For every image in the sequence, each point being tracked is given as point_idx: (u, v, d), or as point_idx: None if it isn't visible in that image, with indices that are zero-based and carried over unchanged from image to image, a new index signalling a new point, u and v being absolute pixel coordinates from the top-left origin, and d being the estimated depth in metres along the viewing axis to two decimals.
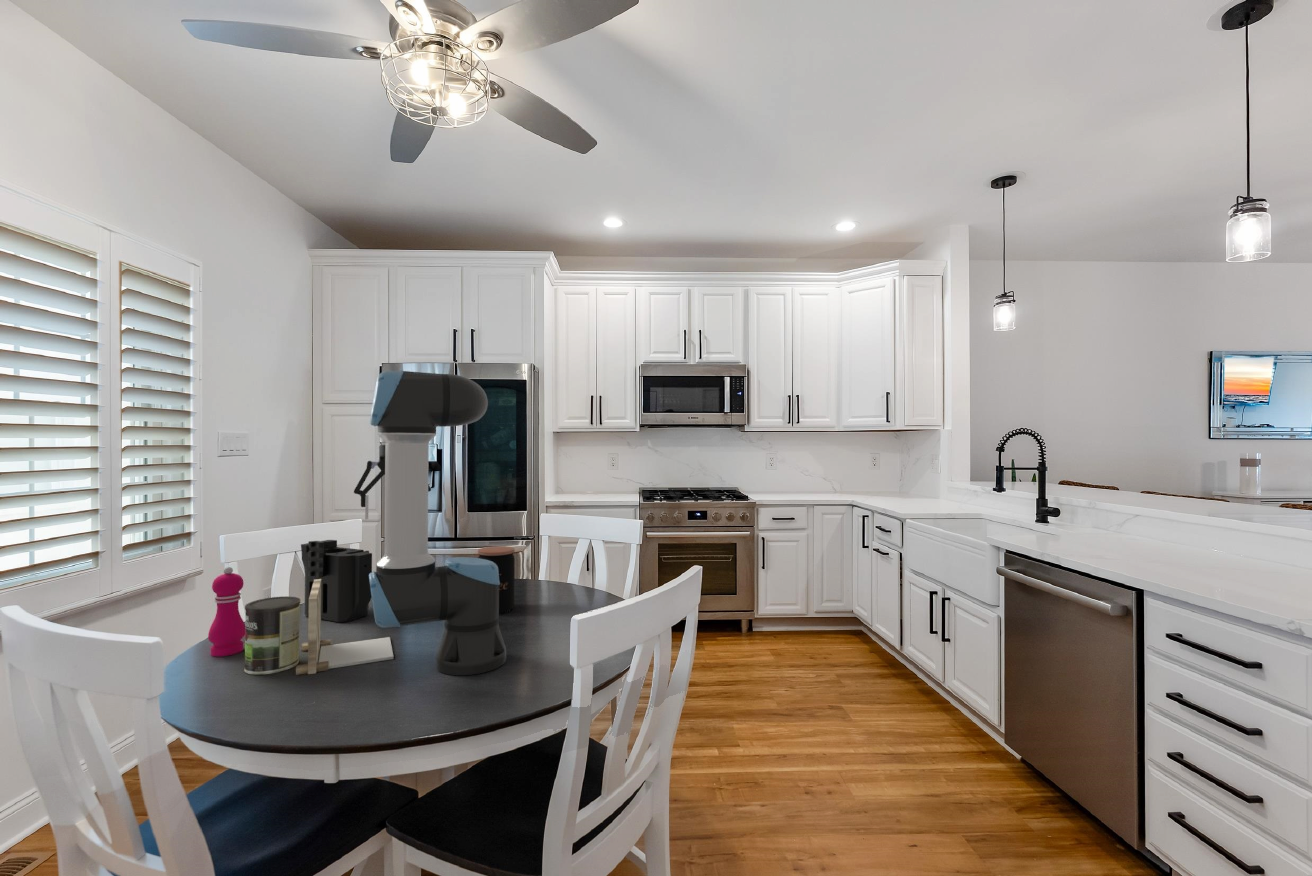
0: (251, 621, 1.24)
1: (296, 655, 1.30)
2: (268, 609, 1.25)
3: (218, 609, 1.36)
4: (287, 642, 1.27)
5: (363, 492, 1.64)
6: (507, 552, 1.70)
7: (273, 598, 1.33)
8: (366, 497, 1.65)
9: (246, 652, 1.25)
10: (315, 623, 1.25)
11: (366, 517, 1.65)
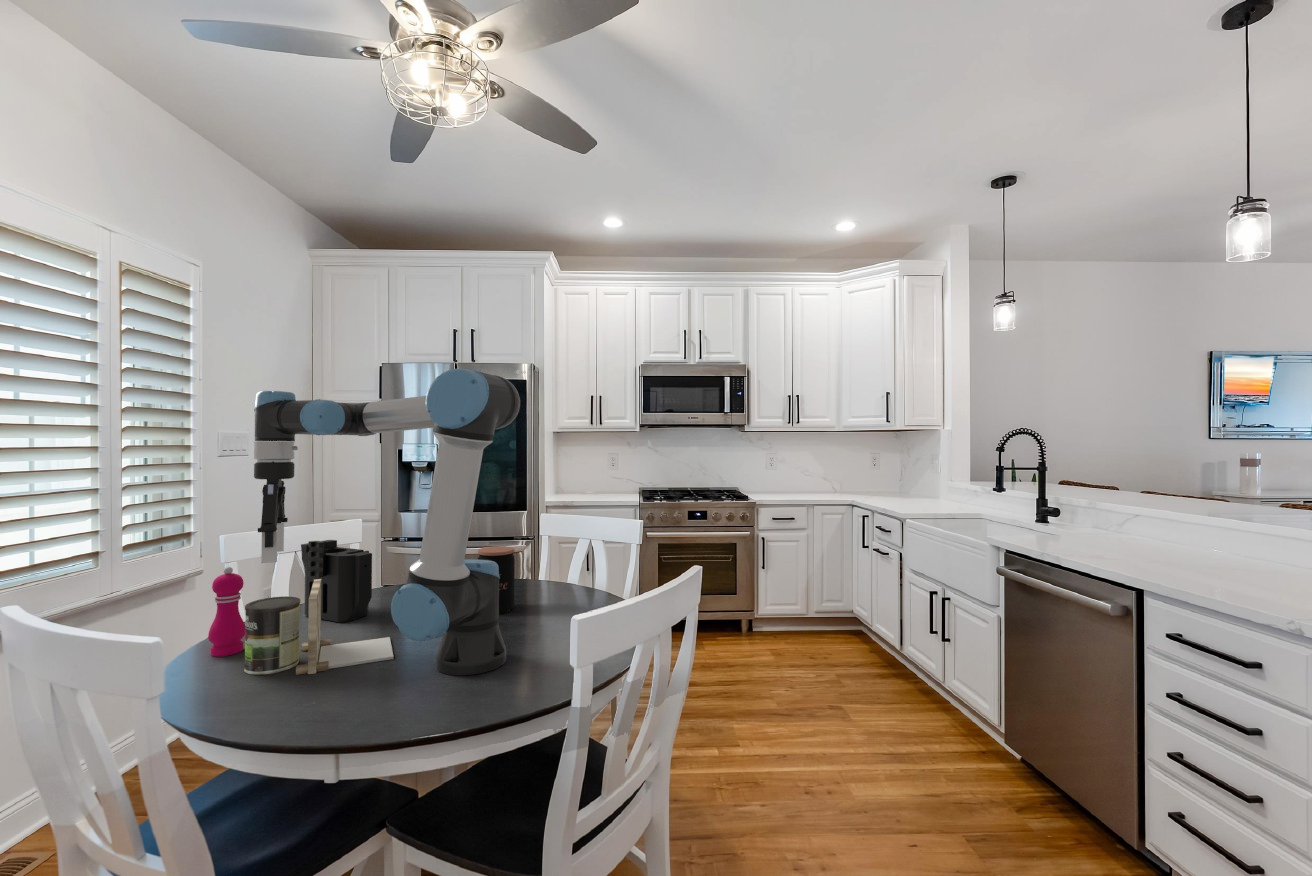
0: (251, 621, 1.24)
1: (296, 655, 1.30)
2: (268, 609, 1.25)
3: (218, 609, 1.36)
4: (287, 642, 1.27)
5: None
6: (507, 552, 1.70)
7: (273, 598, 1.33)
8: None
9: (246, 652, 1.25)
10: (315, 623, 1.25)
11: None
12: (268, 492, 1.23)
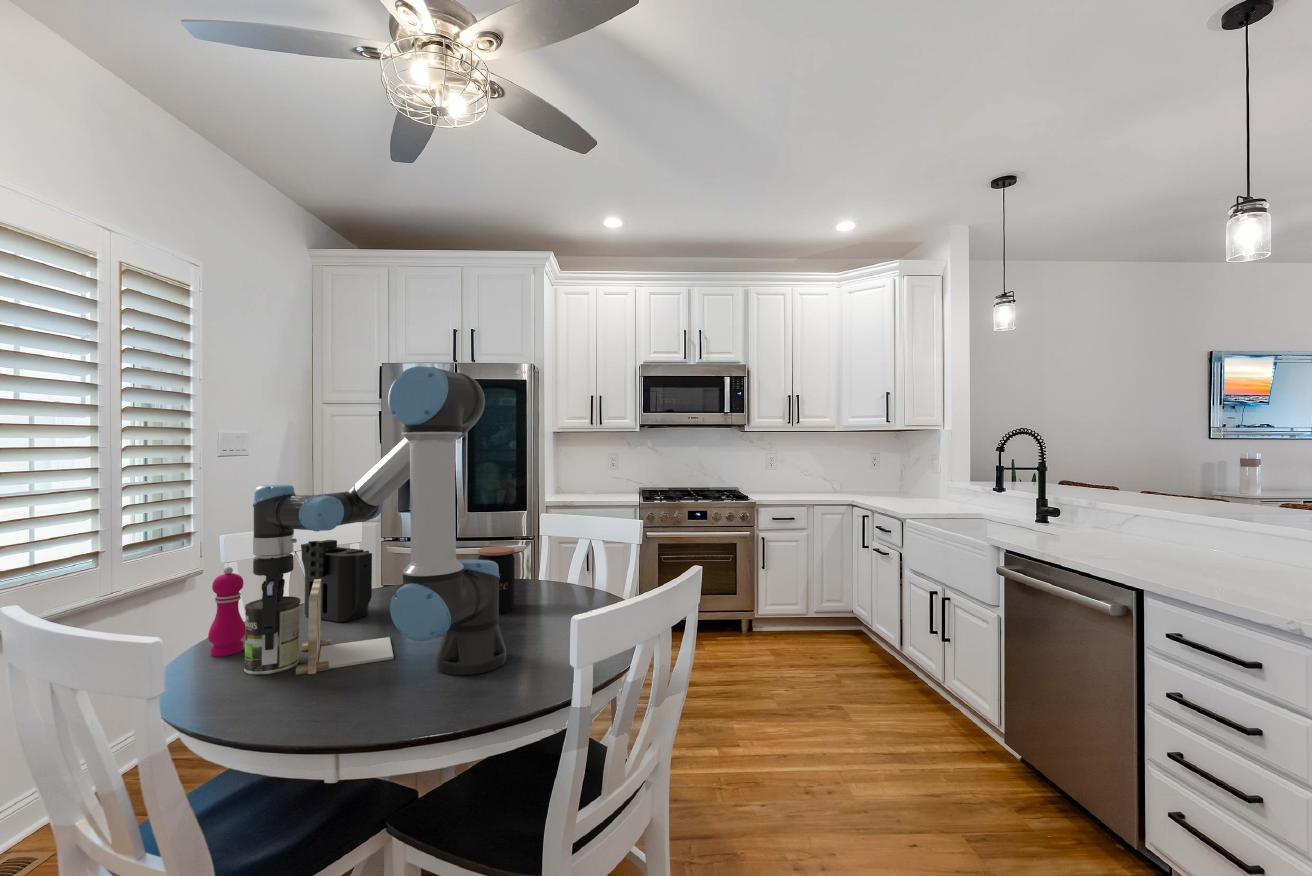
0: (251, 621, 1.24)
1: (296, 655, 1.30)
2: None
3: (218, 609, 1.36)
4: (287, 642, 1.27)
5: None
6: (507, 552, 1.70)
7: None
8: None
9: (246, 652, 1.25)
10: (315, 623, 1.25)
11: None
12: (267, 594, 1.23)
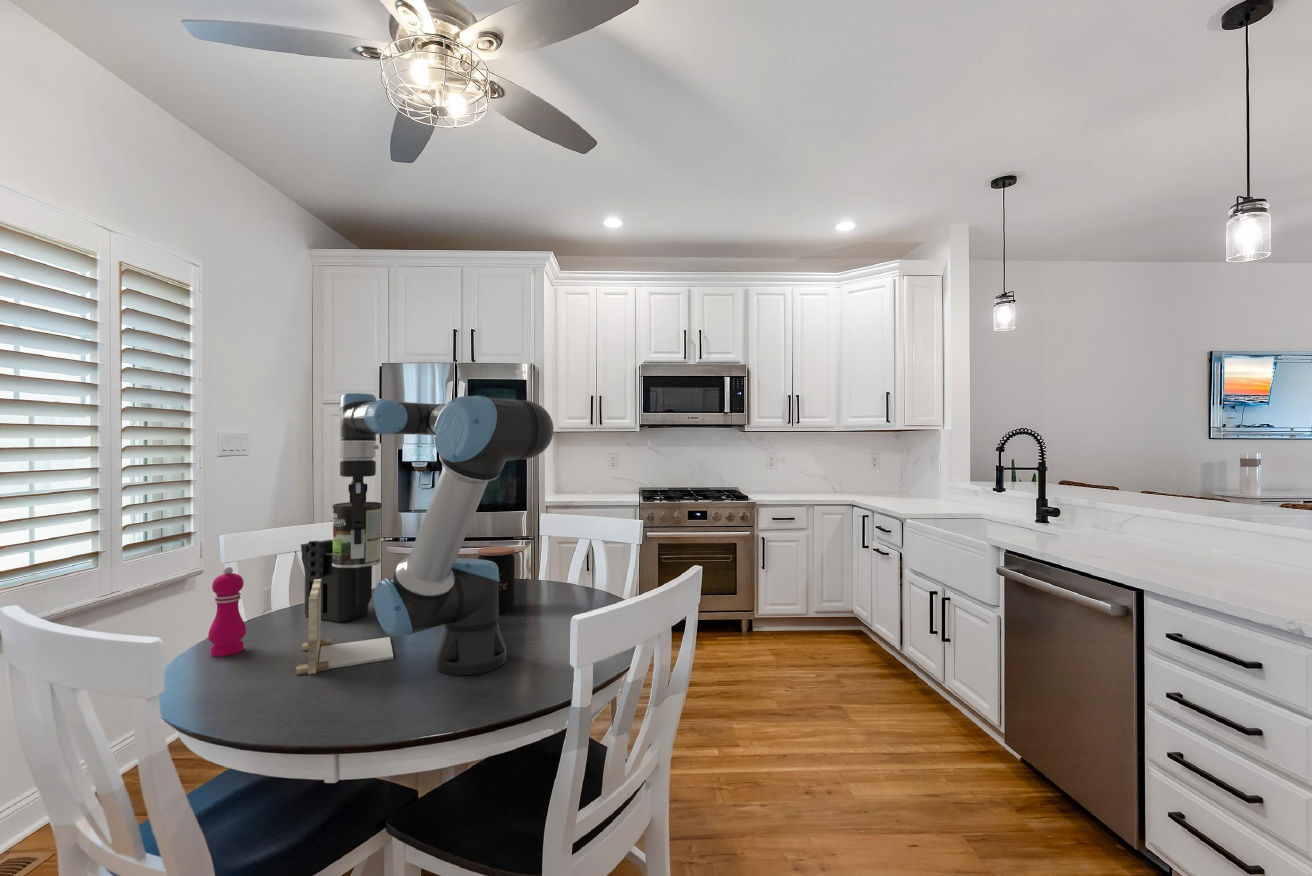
0: (340, 518, 1.32)
1: (379, 554, 1.38)
2: None
3: (218, 609, 1.36)
4: (372, 540, 1.35)
5: None
6: (507, 552, 1.70)
7: None
8: None
9: (335, 548, 1.33)
10: (315, 623, 1.25)
11: None
12: (355, 492, 1.31)
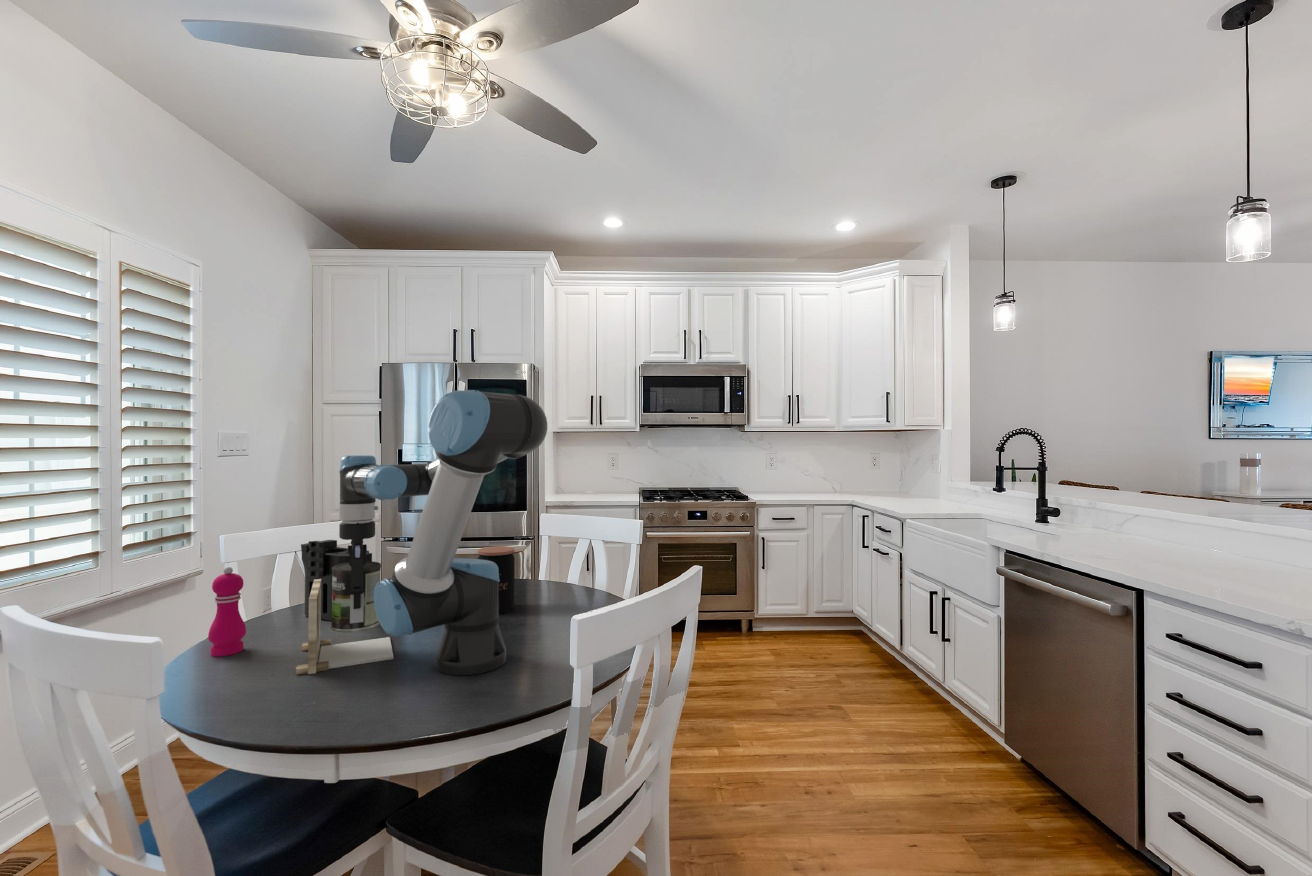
0: (339, 582, 1.32)
1: None
2: None
3: (218, 609, 1.36)
4: (371, 602, 1.35)
5: None
6: (507, 552, 1.70)
7: None
8: None
9: (334, 611, 1.33)
10: (315, 623, 1.25)
11: None
12: (355, 556, 1.31)
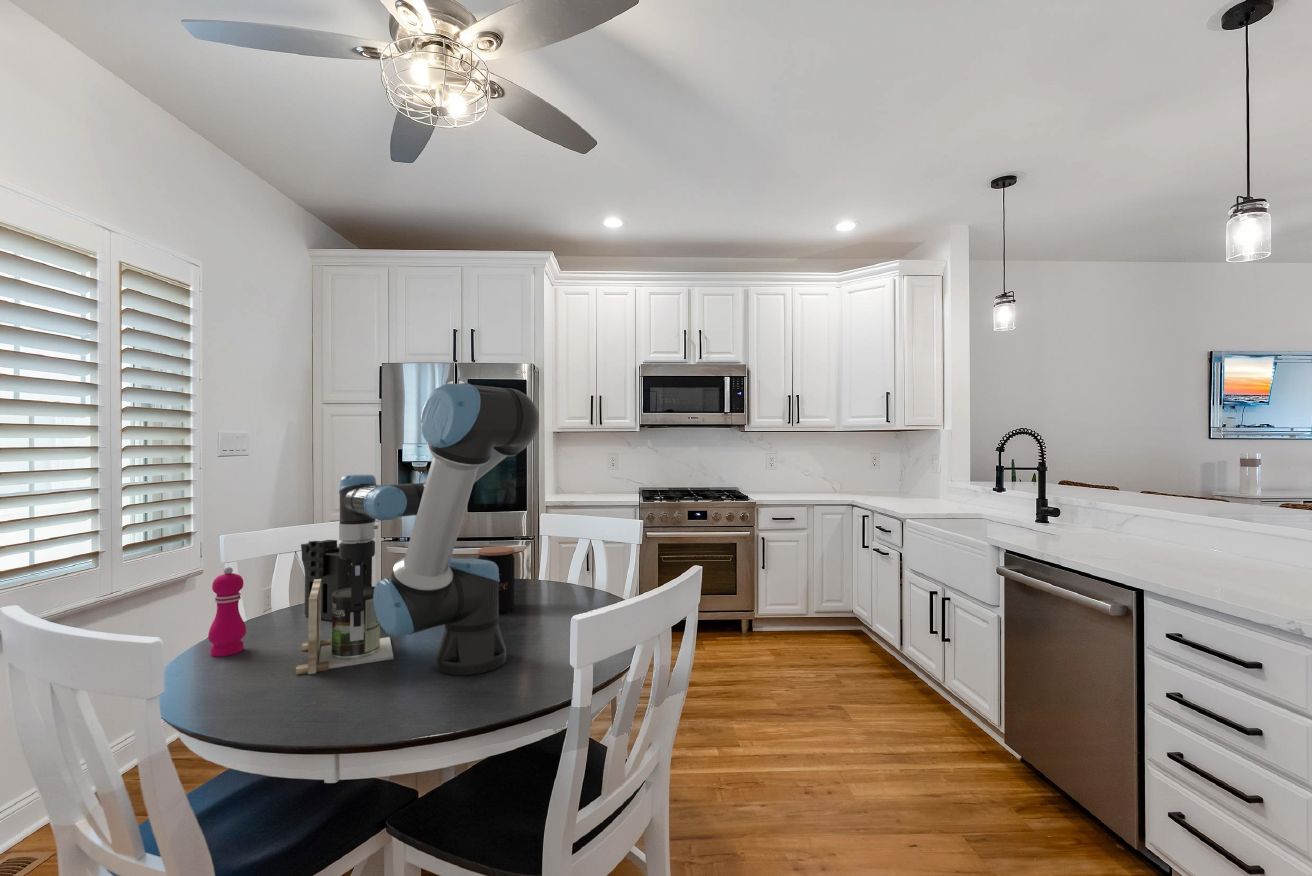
0: (339, 609, 1.32)
1: (378, 641, 1.37)
2: None
3: (218, 609, 1.36)
4: (371, 628, 1.35)
5: None
6: (507, 552, 1.70)
7: None
8: None
9: (334, 638, 1.33)
10: (315, 623, 1.25)
11: None
12: (355, 574, 1.31)
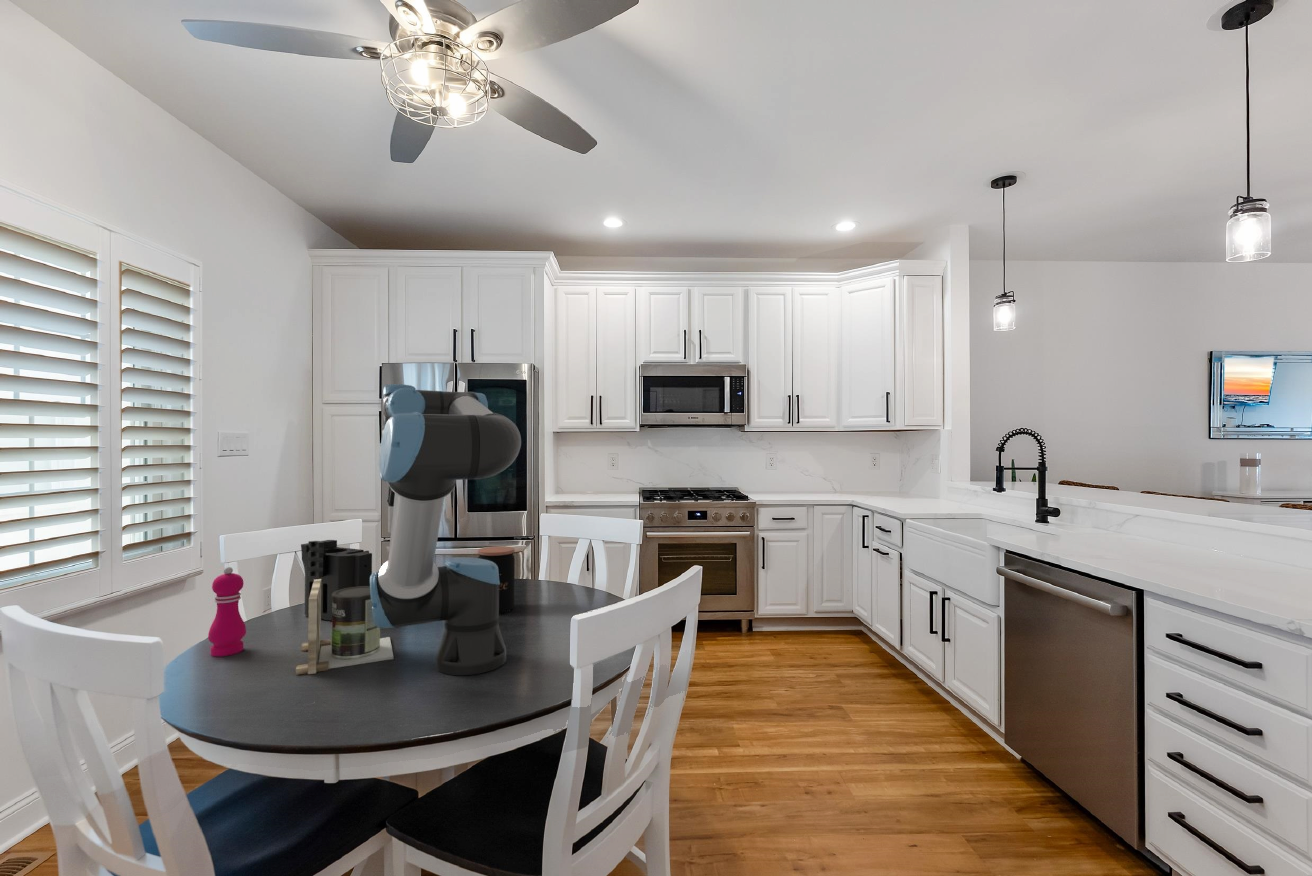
0: (339, 609, 1.32)
1: (378, 641, 1.37)
2: (355, 597, 1.32)
3: (218, 609, 1.36)
4: (372, 629, 1.35)
5: (388, 502, 1.48)
6: (507, 552, 1.70)
7: (355, 587, 1.40)
8: None
9: (334, 638, 1.33)
10: (315, 623, 1.25)
11: None
12: None
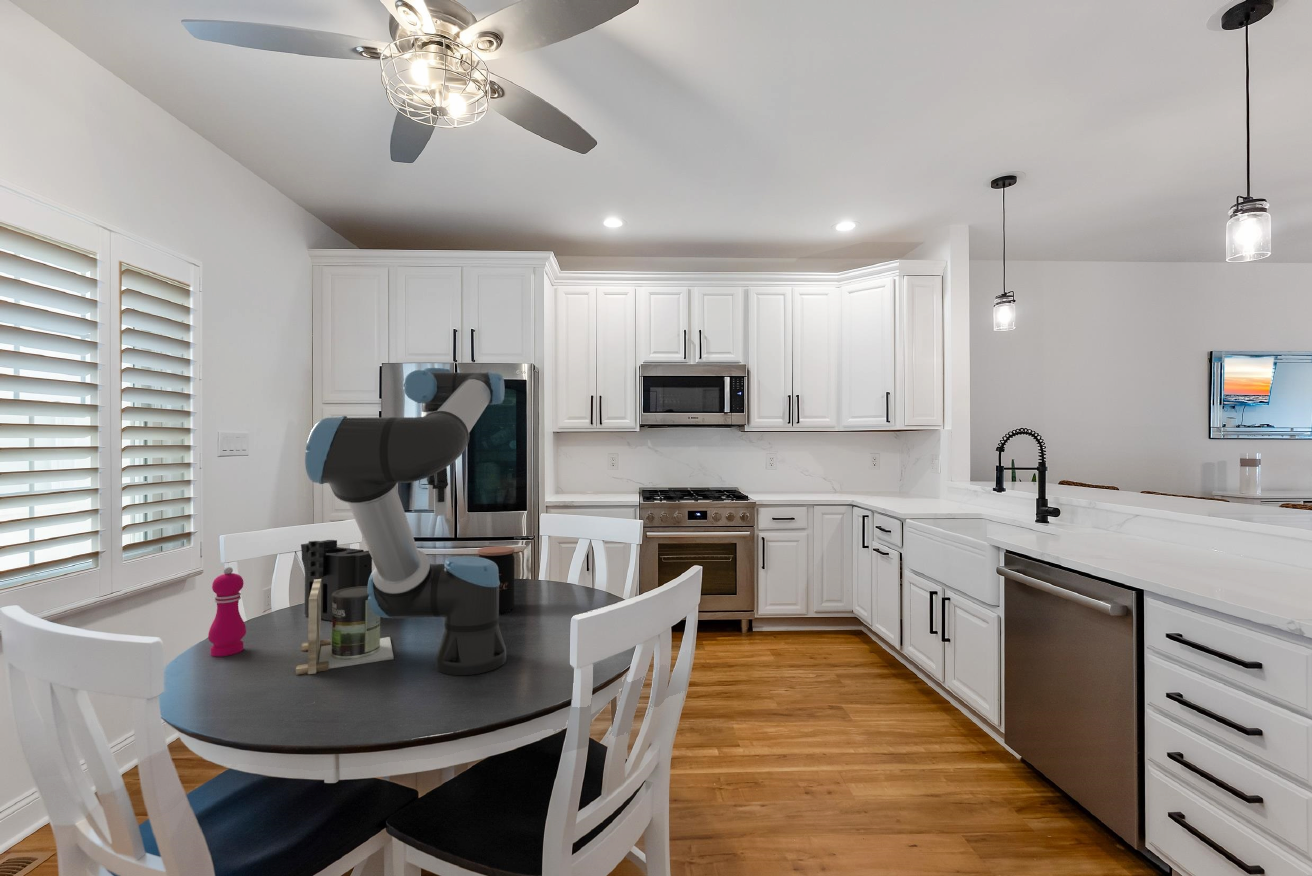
0: (339, 609, 1.32)
1: (378, 641, 1.37)
2: (355, 597, 1.32)
3: (218, 609, 1.36)
4: (372, 629, 1.35)
5: (428, 481, 1.55)
6: (507, 552, 1.70)
7: (355, 587, 1.40)
8: (428, 486, 1.55)
9: (334, 638, 1.33)
10: (315, 623, 1.25)
11: (428, 508, 1.54)
12: None
